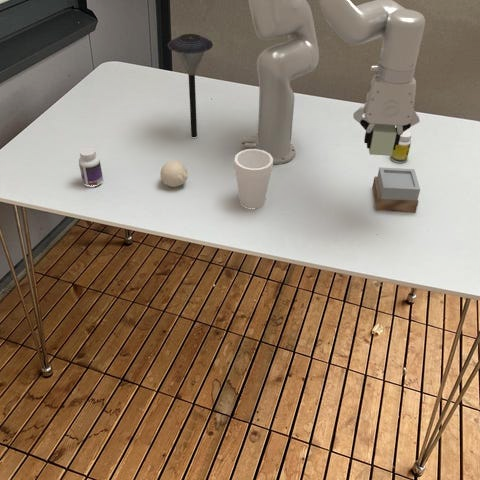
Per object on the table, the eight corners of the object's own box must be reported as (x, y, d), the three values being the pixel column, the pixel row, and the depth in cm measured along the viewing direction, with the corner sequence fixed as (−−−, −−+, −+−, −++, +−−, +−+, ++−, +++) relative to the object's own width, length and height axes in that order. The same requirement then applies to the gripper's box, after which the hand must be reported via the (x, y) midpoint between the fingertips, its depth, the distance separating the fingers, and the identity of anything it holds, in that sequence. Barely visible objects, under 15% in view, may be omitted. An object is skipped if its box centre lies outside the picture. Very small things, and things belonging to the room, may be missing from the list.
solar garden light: (205, 150, 166) (203, 50, 147) (167, 142, 169) (159, 43, 150) (220, 130, 175) (219, 33, 156) (183, 123, 178) (178, 27, 158)
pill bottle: (107, 178, 155) (102, 147, 148) (97, 189, 151) (91, 158, 145) (89, 174, 156) (83, 144, 150) (79, 185, 152) (72, 154, 146)
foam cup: (258, 217, 143) (260, 174, 135) (227, 205, 147) (227, 162, 138) (276, 198, 149) (279, 156, 141) (246, 187, 153) (247, 145, 144)
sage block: (369, 154, 132) (374, 131, 128) (368, 143, 136) (372, 120, 132) (391, 155, 132) (396, 133, 128) (389, 144, 135) (394, 121, 132)
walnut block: (375, 211, 146) (378, 199, 144) (372, 188, 154) (374, 176, 151) (415, 214, 146) (418, 201, 143) (409, 191, 154) (412, 178, 151)
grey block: (381, 198, 144) (383, 187, 142) (377, 178, 151) (379, 167, 148) (417, 200, 144) (420, 189, 141) (411, 180, 150) (414, 169, 148)
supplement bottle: (406, 164, 163) (413, 138, 157) (390, 162, 163) (395, 136, 158) (406, 155, 166) (412, 130, 161) (390, 153, 167) (395, 128, 161)
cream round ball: (182, 194, 150) (181, 173, 146) (157, 188, 152) (155, 167, 148) (192, 180, 155) (191, 159, 150) (168, 174, 157) (166, 154, 152)
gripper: (356, 77, 119) (344, 152, 131) (439, 82, 118) (419, 157, 130) (354, 62, 125) (343, 135, 137) (433, 67, 124) (415, 140, 136)
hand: (380, 145), depth 133 cm, fingers closed on sage block, 5 cm apart
